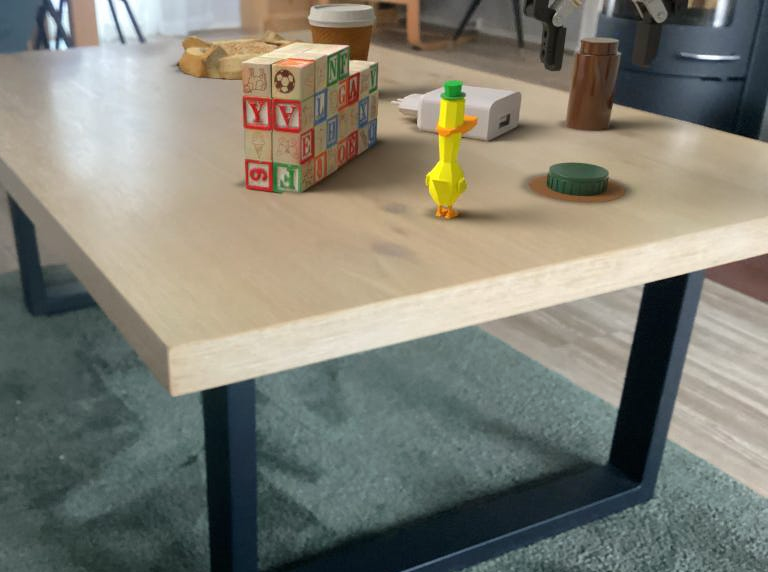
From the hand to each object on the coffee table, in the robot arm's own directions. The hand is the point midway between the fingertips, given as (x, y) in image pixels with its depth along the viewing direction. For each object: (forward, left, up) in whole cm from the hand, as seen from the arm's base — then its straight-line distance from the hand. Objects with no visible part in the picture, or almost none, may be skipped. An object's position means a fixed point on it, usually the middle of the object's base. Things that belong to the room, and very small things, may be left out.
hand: (596, 67), depth 78 cm
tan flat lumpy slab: (+59, -53, -12) cm, 81 cm away
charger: (+18, -22, -12) cm, 30 cm away
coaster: (0, 0, -12) cm, 12 cm away
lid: (0, -1, -10) cm, 10 cm away
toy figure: (+10, +12, -12) cm, 20 cm away
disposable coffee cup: (+36, -35, -12) cm, 52 cm away
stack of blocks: (+27, 0, -12) cm, 30 cm away
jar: (+1, -27, -12) cm, 30 cm away
